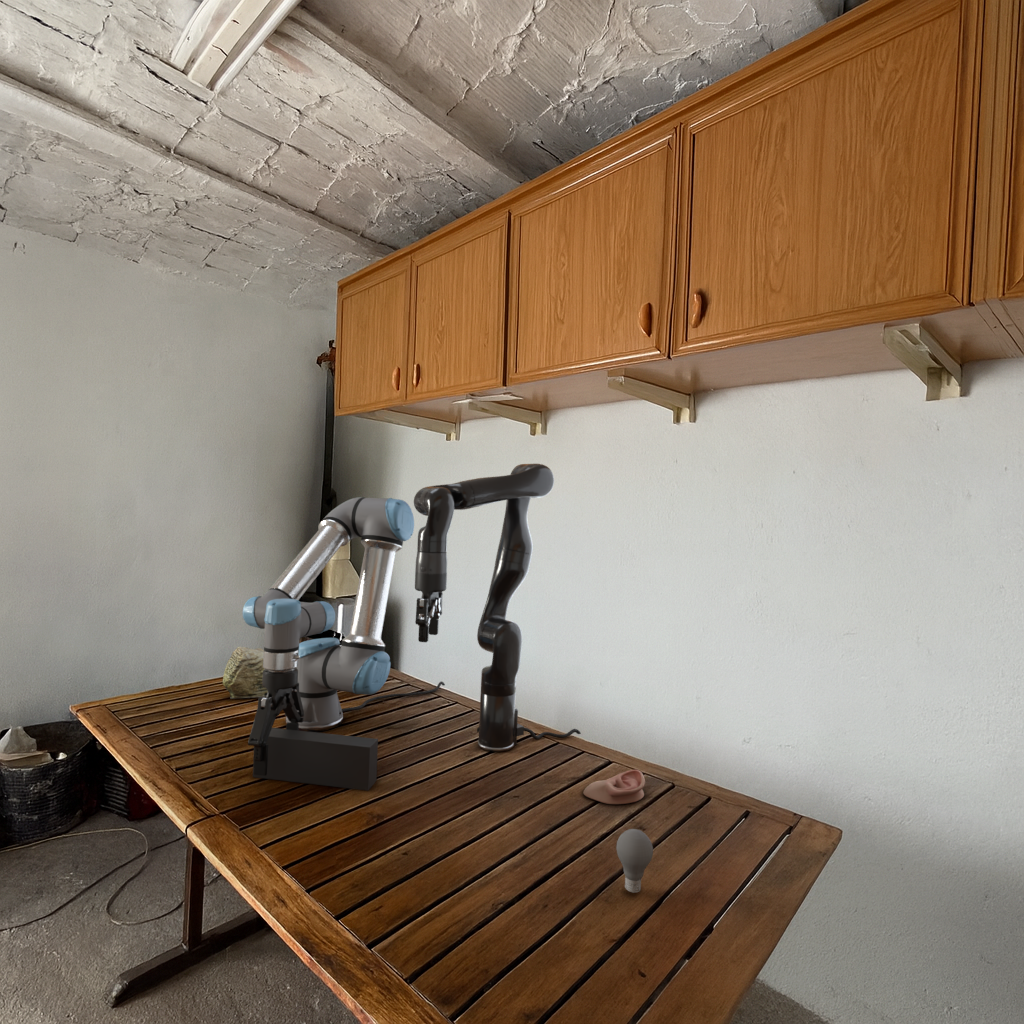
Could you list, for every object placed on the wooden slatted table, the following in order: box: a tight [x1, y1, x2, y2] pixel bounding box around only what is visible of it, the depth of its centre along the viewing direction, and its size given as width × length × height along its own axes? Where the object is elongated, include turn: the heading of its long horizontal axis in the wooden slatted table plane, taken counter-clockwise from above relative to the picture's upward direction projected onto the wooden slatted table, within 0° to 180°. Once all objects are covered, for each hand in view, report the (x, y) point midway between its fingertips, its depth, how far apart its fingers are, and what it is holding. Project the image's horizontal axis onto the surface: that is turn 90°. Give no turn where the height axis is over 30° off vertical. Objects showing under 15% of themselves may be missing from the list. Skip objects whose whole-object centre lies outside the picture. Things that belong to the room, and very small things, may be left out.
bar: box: [252, 727, 379, 792], centre depth 142 cm, size 27×5×10 cm, turn 81°
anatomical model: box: [582, 769, 646, 805], centre depth 141 cm, size 13×4×12 cm
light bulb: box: [615, 828, 654, 894], centre depth 106 cm, size 6×6×10 cm
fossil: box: [222, 646, 268, 699], centre depth 198 cm, size 9×18×15 cm, turn 132°
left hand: (276, 762), depth 143 cm, fingers open, 13 cm apart
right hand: (428, 638), depth 151 cm, fingers open, 8 cm apart
